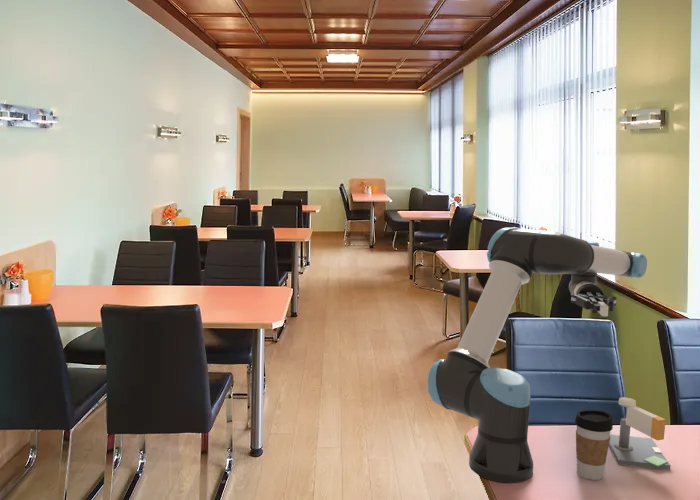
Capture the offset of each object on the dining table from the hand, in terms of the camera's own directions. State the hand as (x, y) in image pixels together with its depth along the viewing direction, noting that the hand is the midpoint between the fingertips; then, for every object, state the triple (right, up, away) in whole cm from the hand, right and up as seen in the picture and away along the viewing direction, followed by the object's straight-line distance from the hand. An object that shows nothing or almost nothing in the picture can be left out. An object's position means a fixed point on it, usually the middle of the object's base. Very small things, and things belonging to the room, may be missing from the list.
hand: (605, 311), depth 166 cm
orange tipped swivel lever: (+4, -35, -10) cm, 37 cm away
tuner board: (+5, -36, -6) cm, 37 cm away
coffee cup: (-11, -37, -18) cm, 43 cm away
